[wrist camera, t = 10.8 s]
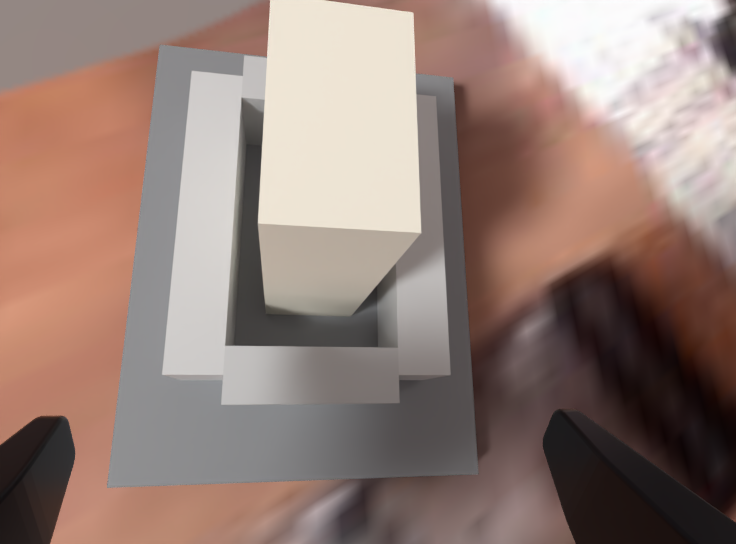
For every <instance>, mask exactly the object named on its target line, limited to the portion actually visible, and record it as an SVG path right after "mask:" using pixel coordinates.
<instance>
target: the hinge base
mask: <svg viewBox="0 0 736 544" xmlns="http://www.w3.org/2000/svg"><path fill="white" fill-rule="evenodd" d="M266 69H267V57H265V56H256V55H247V54H238V53H229V52H220V51H211V50H203V49H194V48H185V47H176V46H167V45H160V47H159V56H158V64H157V72H156V81H155V89H154V98H153V106H152V114H151V123H150V131H149V139H148V148H147V156H146V165H145V173H144V181H143V190H142V198H141V206H140V215H139V223H138V232H137V240H136V248H135V257H134V265H133V273H132V282H131V290H130V299H129V307H128V315H127V324H126V332H125V340H124V349H123V357H122V365H121V374H120V382H119V391H118V399H117V407H116V416H115V424H114V432H113V441H112V449H111V458H110V466H109V474H108V483H107V488H113V487H141V486H168V485H196V484H223V483H251V482H279V481H306V480H334V479H361V478H389V477H416V476H444V475H472V474H478V459H477V443H476V427H475V412H474V396H473V380H472V365H471V349H470V333H469V318H468V302H467V286H466V271H465V255H464V239H463V224H462V208H461V192H460V176H459V161H458V145H457V129H456V114H455V98H454V82H453V78H451V77H442V76H433V75H424V74H416V73H415V74H416V101H417V129H418V157H419V184H420V212H421V234H420V235H419V236H418V237H417V239H416V240H415V241H414V242H413V243H412V244H411V246H410V247H409V248H408V249H407V250H406V252H405V253H404V254H403V255H402V256H401V257H400V259H399V260H398V261H397V262H396V263H395V265H394V266H393V267H392V268H391V269H390V271H389V272H388V273H387V274H386V275H385V276H384V278H383V279H382V280H381V281H380V282H379V284H378V285H377V286H376V287H375V288H374V289H373V291H372V292H371V293H370V294H369V295H368V297H367V298H366V299H365V300H364V301H363V303H362V304H361V305H360V306H359V307H358V308H357V310H356V311H355V312H354V313H353V314H352V316H316V315H278V314H266V309H265V298H264V287H263V276H262V265H261V253H260V242H259V231H258V211H259V194H260V176H261V158H262V140H263V123H264V105H265V87H266Z"/></svg>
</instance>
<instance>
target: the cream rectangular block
mask: <svg viewBox="0 0 736 544" xmlns="http://www.w3.org/2000/svg"><path fill="white" fill-rule="evenodd" d="M258 231H259V242H260V253H261V265H262V276H263V287H264V298H265V309H266V314H278V315H316V316H352V314H353V313H354V312H355V311H356V310H357V308H358V307H359V306H360V305H361V304H362V303H363V301H364V300H365V299H366V298H367V297H368V295H369V294H370V293H371V292H372V291H373V289H374V288H375V287H376V286H377V285H378V284H379V282H380V281H381V280H382V279H383V278H384V276H385V275H386V274H387V273H388V272H389V271H390V269H391V268H392V267H393V266H394V265H395V263H396V262H397V261H398V260H399V259H400V257H401V256H402V255H403V254H404V253H405V252H406V250H407V249H408V248H409V247H410V246H411V244H412V243H413V242H414V241H415V240H416V239H417V237H418V236H419V235H420V234H421V212H420V184H419V157H418V129H417V101H416V74H415V46H414V18H413V13H412V12H405V11H397V10H390V9H383V8H376V7H368V6H361V5H354V4H347V3H340V2H332V1H325V0H270V16H269V34H268V52H267V69H266V87H265V105H264V123H263V140H262V158H261V176H260V194H259V211H258Z"/></svg>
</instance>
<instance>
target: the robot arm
mask: <svg viewBox="0 0 736 544" xmlns="http://www.w3.org/2000/svg"><path fill="white" fill-rule="evenodd" d="M543 449H544V452H545V455H546V459H547V462H548V465H549V468H550V471H551V474H552V477H553V481H554V484H555V487H556V490H557V493H558V496H559V499H560V502H561V506H562V509H563V512H564V515H565V517H566V520H567V523H568V526H569V528H570V531H571V533H572V536H573V538H574V540H575V543H576V544H736V523H735V522H734V521H733V520H731V519H730V518H728V517H727V516H726V515H724V514H723V513H721V512H720V511H719V510H717V509H716V508H714V507H713V506H712V505H710V504H709V503H707V502H706V501H705V500H703V499H702V498H700V497H699V496H698V495H696V494H695V493H693V492H692V491H691V490H689V489H688V488H686V487H685V486H684V485H682V484H681V483H679V482H678V481H677V480H675V479H674V478H672V477H671V476H670V475H668V474H667V473H665V472H664V471H663V470H661V469H660V468H658V467H657V466H656V465H654V464H653V463H651V462H650V461H649V460H647V459H646V458H644V457H643V456H642V455H640V454H639V453H637V452H636V451H635V450H633V449H632V448H630V447H629V446H628V445H626V444H625V443H623V442H622V441H621V440H619V439H618V438H616V437H615V436H614V435H612V434H611V433H609V432H608V431H607V430H605V429H604V428H602V427H601V426H600V425H598V424H597V423H595V422H594V421H593V420H591V419H590V418H588V417H587V416H586V415H584V414H583V413H581V412H580V411H578V410H576V409H558V410H556V411H555V412H554V413H553V415H552V417H551V420H550V422H549V425H548V427H547V430H546V432H545V435H544V438H543ZM74 460H75V447H74V443H73V439H72V434H71V430H70V426H69V422H68V420H67V418H66V417H64V416H40V417H37V418H35V419H34V420H32V421H31V422H30V423H28V424H27V425H26V426H24V427H23V428H22V429H20V430H19V431H18V432H17V433H15V434H14V435H13V436H11V437H10V438H9V439H7V440H6V441H5V442H3V443H2V444H1V445H0V544H50V542H51V539H52V536H53V532H54V529H55V525H56V522H57V519H58V515H59V512H60V509H61V505H62V502H63V498H64V495H65V492H66V488H67V485H68V481H69V478H70V475H71V471H72V468H73V464H74Z"/></svg>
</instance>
